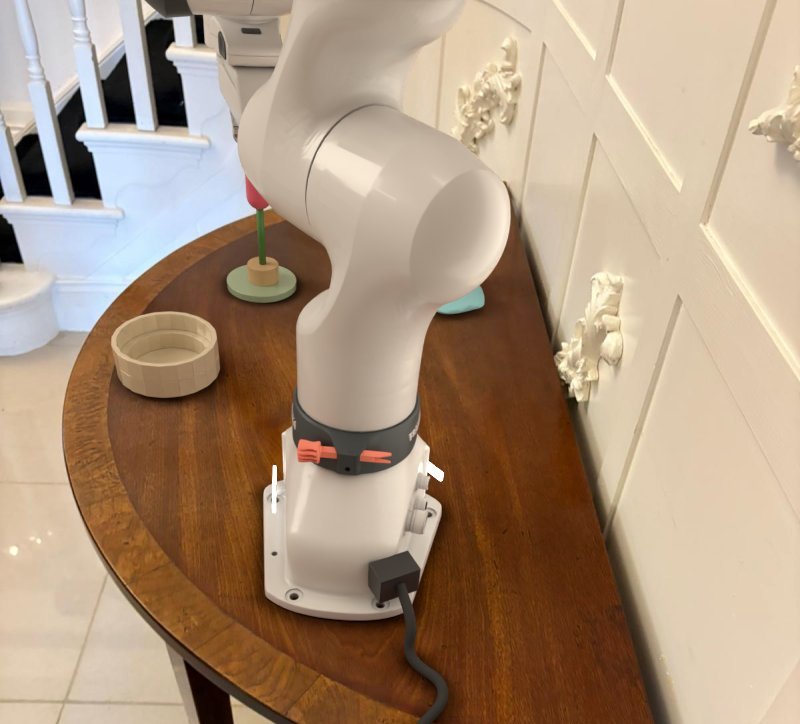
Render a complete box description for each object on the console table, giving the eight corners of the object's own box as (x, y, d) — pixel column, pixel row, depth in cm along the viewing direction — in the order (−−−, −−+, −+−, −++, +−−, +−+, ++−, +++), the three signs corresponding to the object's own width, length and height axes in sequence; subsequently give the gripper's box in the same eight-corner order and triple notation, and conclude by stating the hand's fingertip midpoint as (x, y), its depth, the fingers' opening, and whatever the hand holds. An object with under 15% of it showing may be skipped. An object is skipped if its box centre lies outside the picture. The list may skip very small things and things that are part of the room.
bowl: (207, 406, 94) (203, 370, 90) (105, 396, 93) (96, 360, 90) (229, 351, 102) (226, 316, 99) (135, 342, 102) (129, 307, 99)
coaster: (290, 306, 111) (290, 299, 111) (220, 299, 111) (219, 292, 111) (301, 272, 118) (301, 266, 118) (235, 266, 118) (234, 260, 118)
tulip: (275, 287, 113) (271, 181, 102) (245, 284, 113) (237, 177, 102) (281, 273, 116) (277, 168, 105) (251, 270, 116) (244, 165, 105)
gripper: (202, 7, 98) (210, 126, 107) (229, 52, 84) (235, 184, 94) (253, 9, 100) (256, 126, 109) (287, 54, 86) (287, 183, 96)
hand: (246, 154), depth 101 cm, fingers open, 8 cm apart
